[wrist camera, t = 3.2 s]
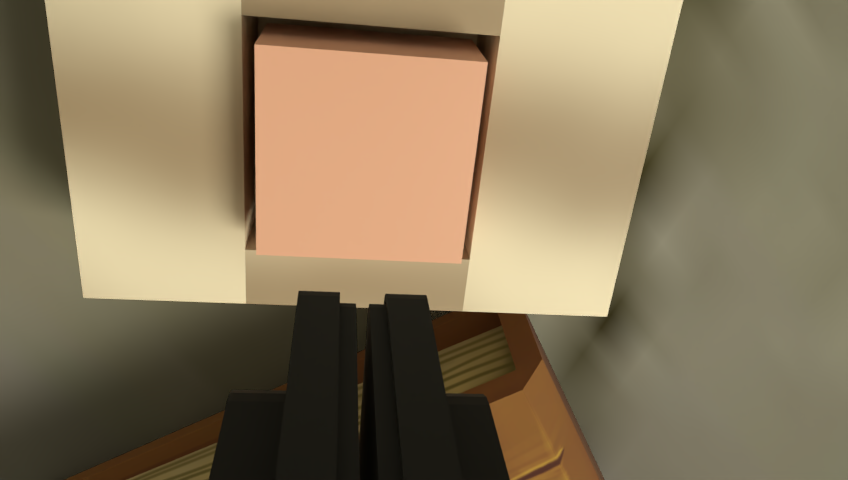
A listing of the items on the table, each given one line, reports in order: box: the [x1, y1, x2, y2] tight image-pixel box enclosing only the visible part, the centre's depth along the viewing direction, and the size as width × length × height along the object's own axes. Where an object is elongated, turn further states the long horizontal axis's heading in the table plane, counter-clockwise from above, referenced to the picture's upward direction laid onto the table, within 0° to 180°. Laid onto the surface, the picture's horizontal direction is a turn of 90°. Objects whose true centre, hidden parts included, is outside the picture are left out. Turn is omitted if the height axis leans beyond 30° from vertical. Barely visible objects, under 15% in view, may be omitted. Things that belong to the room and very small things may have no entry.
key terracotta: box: [254, 23, 488, 264], centre depth 18 cm, size 5×5×2 cm
